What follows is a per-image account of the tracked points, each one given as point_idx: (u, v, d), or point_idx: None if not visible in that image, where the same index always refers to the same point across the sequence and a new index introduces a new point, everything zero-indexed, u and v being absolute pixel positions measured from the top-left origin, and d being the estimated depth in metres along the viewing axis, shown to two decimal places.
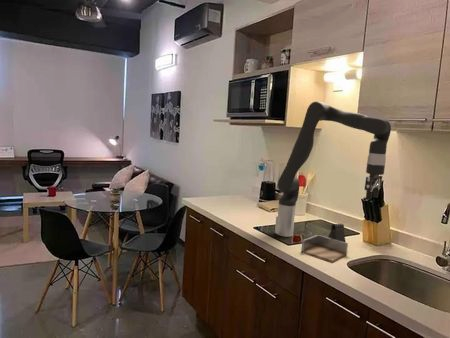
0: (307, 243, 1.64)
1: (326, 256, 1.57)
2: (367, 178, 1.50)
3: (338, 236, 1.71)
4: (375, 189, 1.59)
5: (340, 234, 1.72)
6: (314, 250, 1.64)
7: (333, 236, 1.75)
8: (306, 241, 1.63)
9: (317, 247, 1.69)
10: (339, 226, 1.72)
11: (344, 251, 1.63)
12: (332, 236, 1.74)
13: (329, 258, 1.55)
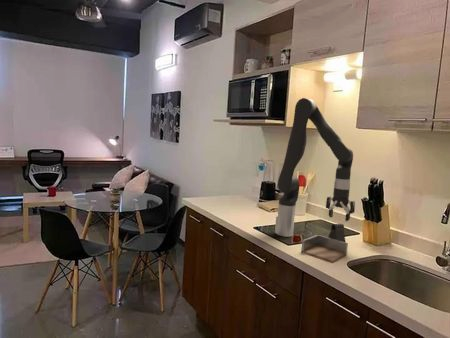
0: (307, 243, 1.64)
1: (326, 256, 1.57)
2: (353, 202, 1.66)
3: (338, 236, 1.71)
4: (331, 210, 1.75)
5: (340, 234, 1.72)
6: (314, 250, 1.64)
7: (333, 236, 1.75)
8: (306, 241, 1.63)
9: (317, 247, 1.69)
10: (339, 226, 1.72)
11: (344, 251, 1.63)
12: (332, 236, 1.74)
13: (329, 258, 1.55)
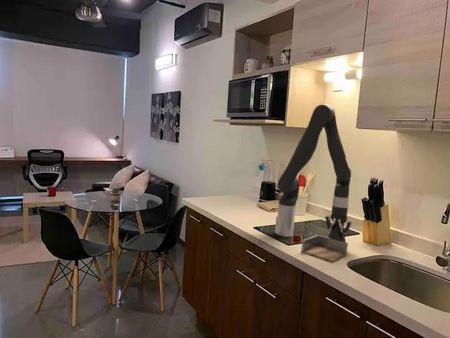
0: (307, 243, 1.64)
1: (326, 256, 1.57)
2: (350, 223, 1.68)
3: (338, 236, 1.71)
4: None
5: None
6: (314, 250, 1.64)
7: (333, 236, 1.75)
8: (306, 241, 1.63)
9: (317, 247, 1.69)
10: None
11: (344, 251, 1.63)
12: (332, 236, 1.74)
13: (329, 258, 1.55)
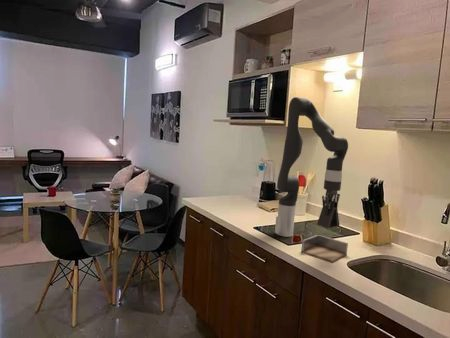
0: (307, 243, 1.64)
1: (326, 256, 1.57)
2: None
3: None
4: None
5: None
6: (314, 250, 1.64)
7: None
8: (306, 241, 1.63)
9: (317, 247, 1.69)
10: None
11: (344, 251, 1.63)
12: None
13: (329, 258, 1.55)
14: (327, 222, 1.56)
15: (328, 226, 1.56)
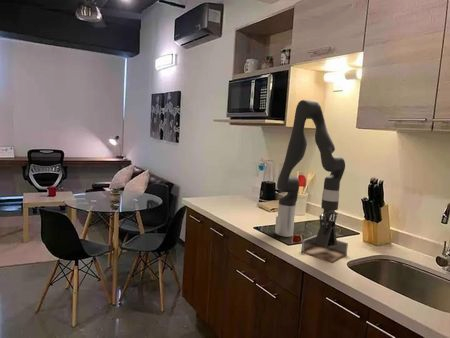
0: (307, 243, 1.64)
1: (326, 256, 1.57)
2: None
3: None
4: None
5: None
6: (314, 250, 1.64)
7: None
8: (306, 241, 1.63)
9: (317, 247, 1.69)
10: None
11: (344, 251, 1.63)
12: None
13: (329, 258, 1.55)
14: (325, 241, 1.57)
15: (326, 245, 1.57)
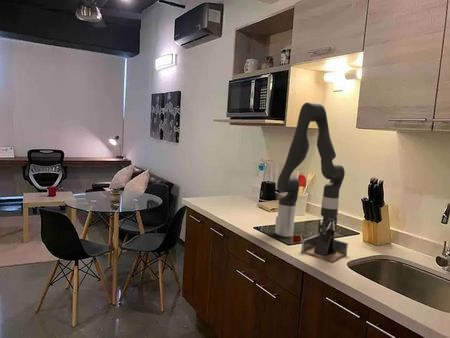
0: (307, 243, 1.64)
1: (326, 256, 1.57)
2: None
3: None
4: None
5: None
6: None
7: None
8: (306, 241, 1.63)
9: None
10: None
11: (344, 251, 1.63)
12: None
13: (329, 258, 1.55)
14: (324, 250, 1.57)
15: (325, 254, 1.57)
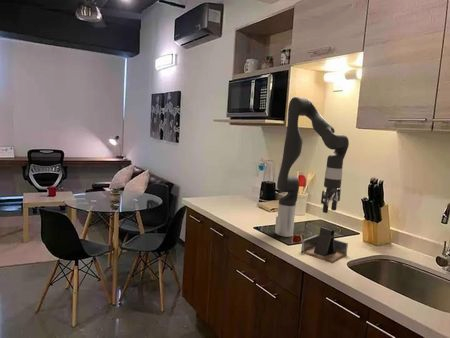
0: (307, 243, 1.64)
1: (326, 256, 1.57)
2: None
3: None
4: None
5: None
6: None
7: None
8: (306, 241, 1.63)
9: None
10: None
11: (344, 251, 1.63)
12: None
13: (329, 258, 1.55)
14: (324, 250, 1.57)
15: (325, 254, 1.57)
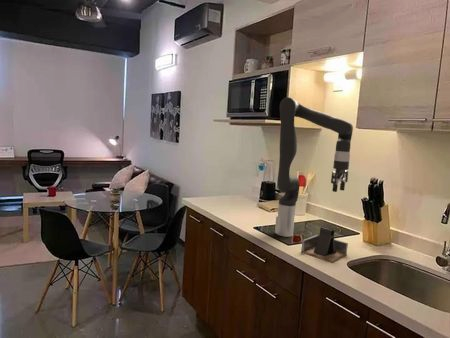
0: (307, 243, 1.64)
1: (326, 256, 1.57)
2: None
3: None
4: None
5: None
6: None
7: None
8: (306, 241, 1.63)
9: None
10: None
11: (344, 251, 1.63)
12: None
13: (329, 258, 1.55)
14: (324, 250, 1.57)
15: (325, 254, 1.57)
